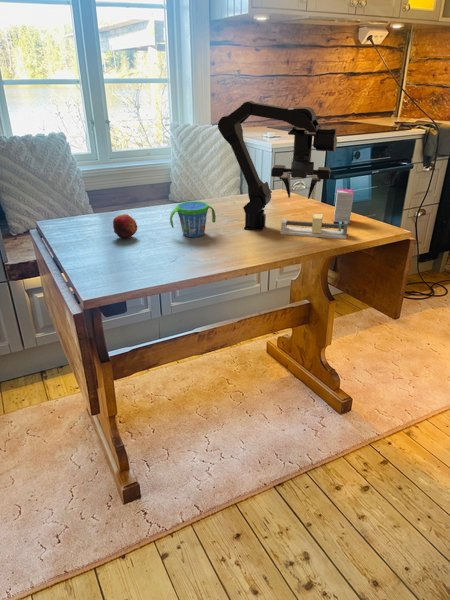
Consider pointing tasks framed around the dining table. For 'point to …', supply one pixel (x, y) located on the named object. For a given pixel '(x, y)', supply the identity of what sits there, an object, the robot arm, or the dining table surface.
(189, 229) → the snack cup
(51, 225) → the dining table surface
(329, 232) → the linear slide rail
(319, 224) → the sleeve
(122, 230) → the fruit
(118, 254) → the dining table surface
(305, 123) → the robot arm
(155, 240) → the dining table surface
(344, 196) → the supplement box
